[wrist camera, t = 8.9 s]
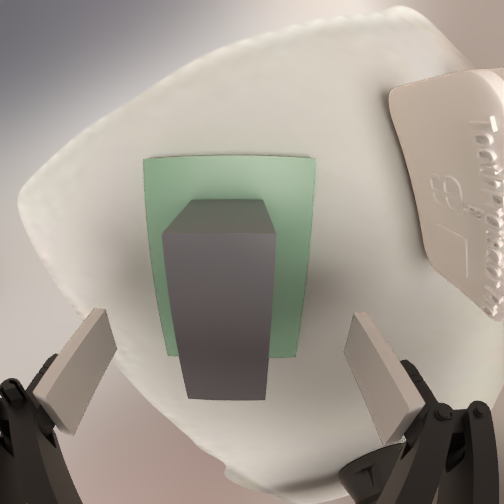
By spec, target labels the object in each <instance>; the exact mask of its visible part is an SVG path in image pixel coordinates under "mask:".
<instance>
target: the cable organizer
mask: <svg viewBox="0 0 504 504" xmlns="http://www.w3.org/2000/svg"><path fill="white" fill-rule="evenodd" d="M389 109H390V114H391V117H392V121H393V124H394V126H395V129H396V132H397V135H398V138H399V141H400V144H401V147H402V151H403V154H404V157H405V161H406V164H407V168H408V172H409V175H410V179H411V183H412V187H413V192H414V196H415V200H416V205H417V210H418V215H419V220H420V226H421V232H422V238H423V243H424V248H425V251H426V254H427V257H428V259H429V261H430V263H431V265H432V266H433V268H434V269H435V270H436V271H437V272H438V273H439V274H441V275H442V276H443V277H444V278H446V279H447V280H448V281H449V282H450V283H452V284H453V285H454V286H455V287H456V288H458V289H459V290H460V291H461V292H462V293H464V294H465V295H466V296H467V297H468V298H469V299H471V300H472V301H473V302H474V303H475V304H476V305H477V306H478V307H480V308H481V309H482V310H483V311H484V312H485V314H486V315H488V316H489V317H490V318H492V319H493V320H495V321H503V320H504V67H503V68H494V69H476V70H466V71H461V72H456V73H451V74H446V75H442V76H437V77H433V78H429V79H425V80H421V81H417V82H413V83H410V84H406V85H402V86H399V87H395V88H393V89H392V90H391V91H390V93H389Z"/></svg>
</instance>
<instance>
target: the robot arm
mask: <svg viewBox="0 0 504 504" xmlns="http://www.w3.org/2000/svg"><path fill="white" fill-rule="evenodd" d="M116 350H117V347H116V343H115V340H114V337H113V334H112V330H111V327H110V324H109V320H108V316H107V313H106V309H97V308H94V309H93V310H92V312H91V313H90V314H89V315H88V317H87V318H86V319H85V320H84V322H83V323H82V324H81V325H80V327H79V328H78V329H77V331H76V332H75V333H74V334H73V336H72V337H71V338H70V340H69V341H68V342H67V344H66V345H65V347H64V348H63V349H62V350H61V352H60V353H59V354H54V355H53V356H51V357H50V358H48V360H47V361H46V362H45V364H44V365H43V368H41V369H40V371H39V373H37V375H36V376H35V377H34V379H33V380H32V382H31V383H30V385H29V386H28V388H27V389H26V391H25V390H24V388H23V386H22V385H21V383H20V382H19V381H18V380H17V379H14V378H10V379H7V380H5V381H4V382H3V383H1V385H0V395H1V396H2V398H0V432H1V435H0V504H83V503H82V501H81V499H80V497H79V495H78V493H77V490H76V488H75V486H74V484H73V481H72V479H71V476H70V474H69V471H68V469H67V466H66V464H65V461H64V458H63V455H62V452H61V449H60V446H59V443H58V440H57V437H56V434H55V432H54V430H53V428H54V426H55V425H56V426H57V428H58V429H59V430H60V431H61V432H63V433H65V434H68V435H71V436H74V435H75V433H76V430H77V428H78V426H79V424H80V422H81V419H82V417H83V415H84V413H85V411H86V409H87V407H88V404H89V402H90V400H91V398H92V396H93V394H94V392H95V390H96V388H97V386H98V384H99V382H100V380H101V378H102V376H103V375H104V373H105V371H106V369H107V367H108V365H109V363H110V361H111V359H112V357H113V356H114V354H115V352H116ZM344 354H345V356H346V358H347V361H348V363H349V365H350V367H351V370H352V372H353V374H354V377H355V379H356V381H357V383H358V386H359V388H360V390H361V393H362V395H363V397H364V400H365V402H366V405H367V407H368V409H369V412H370V414H371V417H372V419H373V421H374V424H375V426H376V429H377V431H378V434H379V436H380V439H381V441H382V444H383V446H386V445H389V444H393V443H396V442H399V440H400V439H401V438H402V436H403V435H404V436H405V438H406V441H405V443H404V444H397V445H393V446H389V447H386V448H383V449H380V450H377V451H375V452H372V453H370V454H368V455H365V456H363V457H361V458H359V459H357V460H355V461H353V462H352V463H350V464H348V465H347V466H345V467H344V468H343V469H342V470H341V471H340V472H339V477H340V481H341V484H342V485H343V486H344V488H345V489H346V490H347V492H348V493H349V494H350V495H351V497H352V498H353V500H354V501H355V504H432V501H433V499H434V496H435V493H436V491H437V488H438V485H439V489H438V499H437V504H499V473H498V459H497V449H496V440H495V434H494V427H493V421H492V416H491V411H490V409H489V407H488V406H487V404H486V403H484V402H482V401H474V402H472V403H471V404H470V405H469V407H468V408H467V409H461V410H453V409H452V408H451V407H450V406H449V405H447V404H445V403H438V401H437V400H436V398H435V397H434V395H433V393H432V392H431V390H430V389H429V387H428V386H427V384H426V382H425V381H423V378H422V376H421V375H419V372H418V370H417V369H416V367H415V366H414V365H413V364H412V363H410V362H409V361H408V360H402V361H399V360H398V358H397V356H396V355H395V353H394V352H393V350H392V349H391V347H390V346H389V344H388V343H387V341H386V340H385V338H384V337H383V335H382V334H381V332H380V331H379V329H378V328H377V326H376V325H375V323H374V322H373V320H372V319H371V317H370V316H369V314H368V313H367V312H356V313H354V314H353V318H352V323H351V327H350V331H349V335H348V339H347V343H346V346H345V350H344Z"/></svg>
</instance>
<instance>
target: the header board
mask: <svg viewBox="0 0 504 504" xmlns="http://www.w3.org/2000/svg"><path fill="white" fill-rule="evenodd" d="M315 166H316V159H314V158H306V157H289V156H265V155H202V156H177V157H161V158H149V159H143V171H144V191H145V206H146V219H147V229H148V239H149V248H150V256H151V264H152V271H153V278H154V285H155V291H156V298H157V304H158V309H159V315H160V320H161V325H162V330H163V335H164V340H165V345H166V349H167V354H168V356H179V354H178V349H177V344H176V338H175V332H174V327H173V321H172V315H171V308H170V302H169V295H168V287H167V280H166V272H165V263H164V254H163V244H162V233H163V231H164V230H165V229H166V228H167V227H168V226H169V224H170V223H171V222H172V221H173V220H174V219H175V218H176V217H177V215H178V214H179V213H180V212H181V211H182V210H183V209H184V208H185V207H186V206H187V204H188V203H189V202H190V201H191V200H214V199H247V200H263V201H264V203H265V206H266V208H267V211H268V213H269V216H270V218H271V221H272V223H273V226H274V229H275V231H276V254H275V272H274V288H273V304H272V319H271V333H270V347H269V358H283V357H295V356H296V350H297V343H298V337H299V330H300V323H301V316H302V308H303V300H304V292H305V284H306V275H307V266H308V257H309V247H310V236H311V225H312V213H313V199H314V184H315Z"/></svg>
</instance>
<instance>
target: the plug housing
mask: <svg viewBox="0 0 504 504" xmlns="http://www.w3.org/2000/svg"><path fill="white" fill-rule="evenodd" d="M162 244H163V254H164V263H165V272H166V280H167V287H168V295H169V302H170V308H171V315H172V321H173V327H174V332H175V338H176V344H177V349H178V354H179V359H180V364H181V369H182V374H183V378H184V383H185V387H186V391H187V396H188V399H204V400H265V395H266V384H267V372H268V360H269V347H270V333H271V319H272V304H273V288H274V272H275V254H276V231H275V229H274V226H273V223H272V221H271V218H270V216H269V213H268V211H267V208H266V206H265V203H264V201H263V200H247V199H214V200H191V201H190V202H189V203H188V204H187V206H186V207H185V208H184V209H183V210H182V211H181V212H180V213H179V214H178V215H177V217H176V218H175V219H174V220H173V221H172V222H171V223H170V224H169V226H168V227H167V228H166V229H165V230H164V231H163V233H162Z"/></svg>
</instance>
